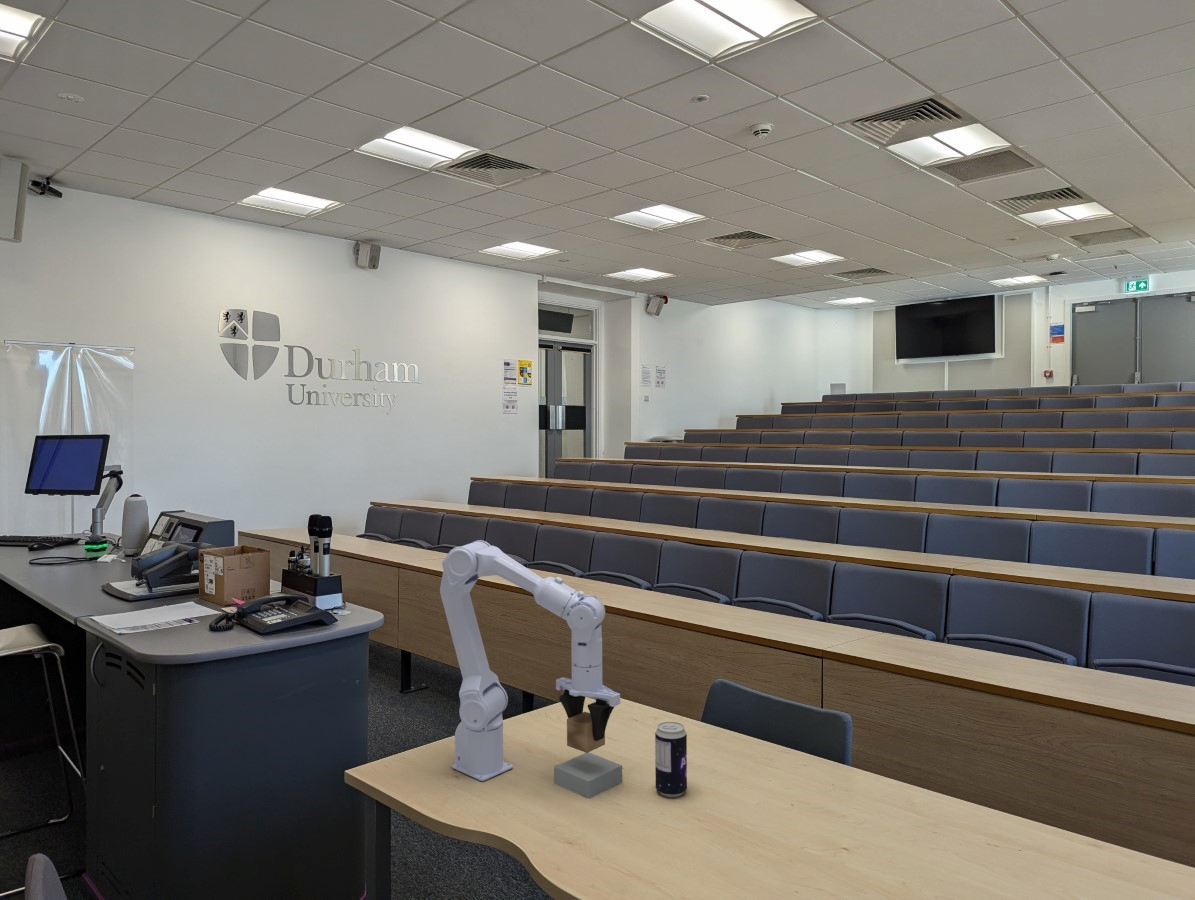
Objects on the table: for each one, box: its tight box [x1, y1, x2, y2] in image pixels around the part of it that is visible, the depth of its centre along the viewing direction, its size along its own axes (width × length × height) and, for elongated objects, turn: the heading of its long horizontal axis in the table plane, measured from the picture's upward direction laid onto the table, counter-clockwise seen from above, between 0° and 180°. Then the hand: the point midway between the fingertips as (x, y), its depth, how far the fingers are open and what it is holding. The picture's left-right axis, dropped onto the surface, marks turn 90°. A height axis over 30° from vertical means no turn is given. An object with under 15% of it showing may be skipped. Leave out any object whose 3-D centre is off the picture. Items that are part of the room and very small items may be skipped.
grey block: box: [553, 752, 623, 800], centre depth 146 cm, size 9×9×4 cm
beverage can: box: [654, 721, 688, 798], centre depth 142 cm, size 6×6×12 cm
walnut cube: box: [566, 711, 606, 753], centre depth 145 cm, size 5×5×5 cm
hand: (587, 735), depth 146 cm, fingers closed on walnut cube, 5 cm apart
